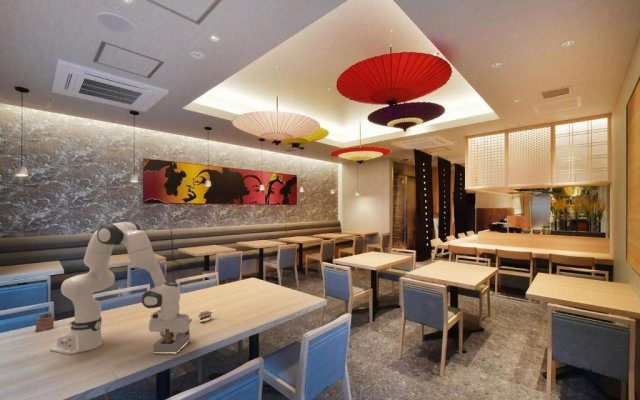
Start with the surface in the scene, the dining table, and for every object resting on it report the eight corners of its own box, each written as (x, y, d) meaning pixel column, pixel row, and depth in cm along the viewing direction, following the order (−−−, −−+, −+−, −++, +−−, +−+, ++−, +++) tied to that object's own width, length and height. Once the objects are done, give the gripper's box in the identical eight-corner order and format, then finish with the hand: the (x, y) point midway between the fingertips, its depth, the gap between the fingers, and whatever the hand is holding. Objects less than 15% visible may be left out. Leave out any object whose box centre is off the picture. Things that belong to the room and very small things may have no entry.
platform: (186, 323, 188) (187, 313, 188) (210, 315, 203) (210, 306, 203) (197, 328, 181) (198, 317, 181) (221, 319, 196) (222, 309, 196)
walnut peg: (166, 345, 153) (167, 326, 153) (174, 345, 153) (175, 326, 153) (162, 348, 149) (163, 329, 149) (170, 349, 149) (170, 329, 149)
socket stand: (153, 353, 148) (154, 329, 148) (170, 339, 164) (171, 318, 164) (176, 354, 147) (177, 330, 148) (191, 340, 163) (192, 318, 164)
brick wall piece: (53, 327, 177) (54, 310, 177) (53, 329, 174) (54, 312, 175) (35, 330, 171) (36, 313, 172) (35, 332, 169) (36, 315, 169)
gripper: (192, 312, 154) (191, 338, 154) (155, 310, 155) (153, 336, 155) (186, 316, 148) (185, 343, 148) (147, 314, 149) (146, 342, 148)
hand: (168, 340), depth 151 cm, fingers closed on walnut peg, 4 cm apart
